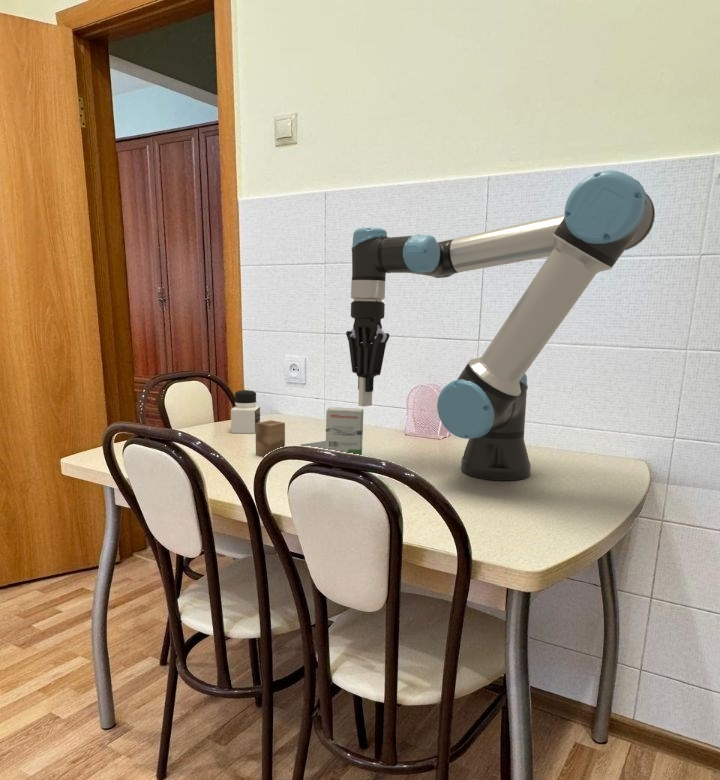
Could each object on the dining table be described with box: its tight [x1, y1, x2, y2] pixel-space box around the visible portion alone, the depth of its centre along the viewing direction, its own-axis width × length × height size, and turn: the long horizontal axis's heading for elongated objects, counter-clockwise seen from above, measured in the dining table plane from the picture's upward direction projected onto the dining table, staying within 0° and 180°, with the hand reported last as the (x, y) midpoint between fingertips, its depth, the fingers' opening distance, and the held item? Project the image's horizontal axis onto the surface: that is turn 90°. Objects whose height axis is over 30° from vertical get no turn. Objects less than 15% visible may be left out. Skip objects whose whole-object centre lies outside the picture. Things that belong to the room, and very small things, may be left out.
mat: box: [300, 440, 326, 449], centre depth 143 cm, size 12×18×1 cm
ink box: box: [325, 406, 364, 456], centre depth 135 cm, size 9×5×12 cm, turn 84°
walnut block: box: [255, 419, 286, 458], centre depth 137 cm, size 5×5×8 cm
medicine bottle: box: [230, 389, 261, 435], centre depth 164 cm, size 7×7×12 cm
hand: (365, 405), depth 127 cm, fingers closed
